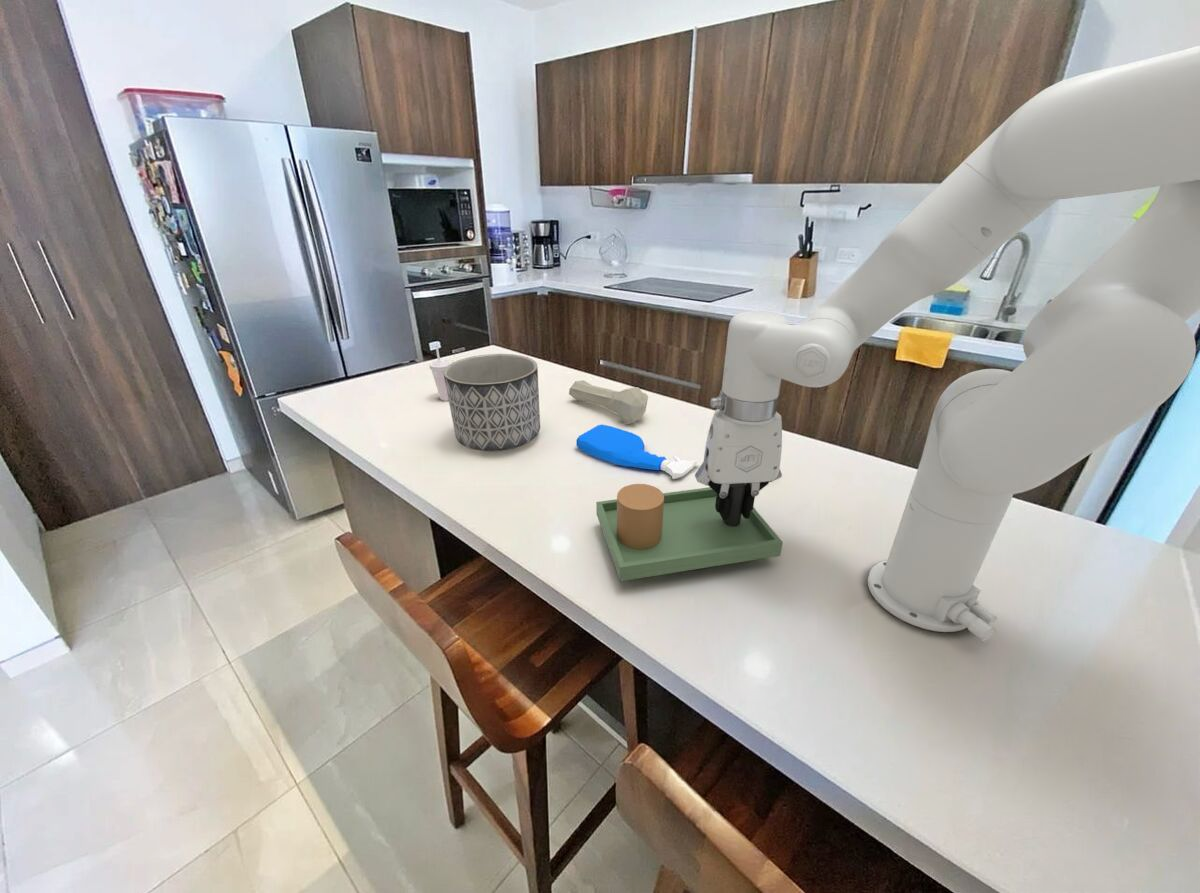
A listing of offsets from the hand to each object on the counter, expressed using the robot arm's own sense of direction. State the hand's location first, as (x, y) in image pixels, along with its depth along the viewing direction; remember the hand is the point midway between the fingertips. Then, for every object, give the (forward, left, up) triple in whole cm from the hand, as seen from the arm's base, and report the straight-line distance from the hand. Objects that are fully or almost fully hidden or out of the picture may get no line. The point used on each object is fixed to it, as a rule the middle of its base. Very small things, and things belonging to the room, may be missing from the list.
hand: (733, 513), depth 77 cm
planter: (+50, +27, -5) cm, 57 cm away
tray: (+2, +8, -3) cm, 8 cm away
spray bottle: (+30, +3, -5) cm, 30 cm away
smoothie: (+79, +35, -5) cm, 86 cm away
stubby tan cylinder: (+3, +15, -2) cm, 15 cm away
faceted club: (+55, -1, -5) cm, 55 cm away
